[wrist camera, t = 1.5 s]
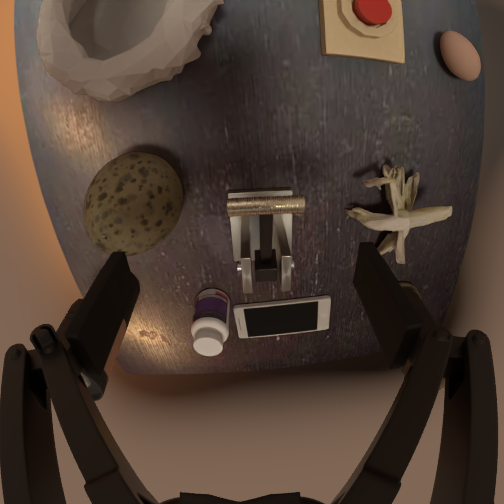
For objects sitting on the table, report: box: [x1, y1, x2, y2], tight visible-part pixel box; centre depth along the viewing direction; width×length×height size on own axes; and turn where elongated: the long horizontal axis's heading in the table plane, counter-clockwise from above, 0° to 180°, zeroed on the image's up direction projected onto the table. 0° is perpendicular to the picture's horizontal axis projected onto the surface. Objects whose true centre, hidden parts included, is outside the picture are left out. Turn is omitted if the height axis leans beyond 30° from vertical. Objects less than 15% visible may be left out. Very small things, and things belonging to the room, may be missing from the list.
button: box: [353, 0, 392, 25], centre depth 23 cm, size 4×4×2 cm
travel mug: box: [81, 273, 140, 401], centre depth 38 cm, size 8×8×20 cm
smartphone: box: [234, 295, 331, 338], centre depth 49 cm, size 7×15×1 cm, turn 96°
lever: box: [227, 195, 305, 282], centre depth 29 cm, size 12×6×2 cm, turn 3°
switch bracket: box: [228, 187, 295, 293], centre depth 36 cm, size 10×8×12 cm
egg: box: [440, 31, 481, 81], centre depth 26 cm, size 5×5×7 cm
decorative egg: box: [83, 152, 183, 256], centre depth 31 cm, size 11×11×15 cm
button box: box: [318, 0, 405, 64], centre depth 25 cm, size 12×10×4 cm
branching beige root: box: [344, 163, 452, 264], centre depth 37 cm, size 9×16×15 cm
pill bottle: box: [191, 289, 230, 356], centre depth 44 cm, size 5×5×10 cm
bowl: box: [36, 0, 224, 102], centre depth 22 cm, size 21×20×10 cm
